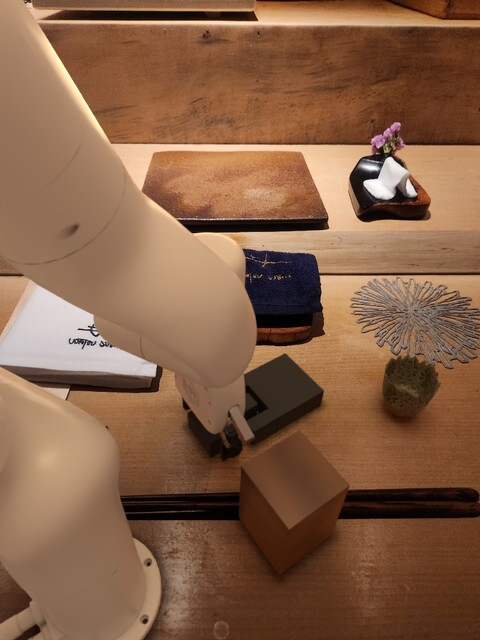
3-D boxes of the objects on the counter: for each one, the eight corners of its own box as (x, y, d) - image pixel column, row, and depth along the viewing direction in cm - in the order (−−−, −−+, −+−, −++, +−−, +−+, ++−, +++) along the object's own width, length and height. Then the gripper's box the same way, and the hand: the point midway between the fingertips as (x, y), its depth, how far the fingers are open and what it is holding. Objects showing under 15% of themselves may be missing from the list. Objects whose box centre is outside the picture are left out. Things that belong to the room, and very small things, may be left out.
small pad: (210, 458, 62) (210, 444, 59) (188, 427, 65) (187, 412, 63) (264, 427, 66) (265, 412, 63) (240, 399, 69) (241, 384, 67)
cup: (426, 434, 65) (444, 400, 60) (373, 425, 66) (386, 390, 61) (421, 394, 71) (438, 358, 65) (373, 386, 72) (385, 350, 66)
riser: (278, 575, 51) (288, 529, 43) (238, 517, 56) (240, 465, 48) (331, 534, 55) (350, 485, 47) (289, 482, 60) (299, 429, 51)
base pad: (252, 446, 63) (253, 431, 61) (217, 402, 69) (217, 387, 66) (320, 405, 69) (324, 390, 66) (283, 367, 74) (285, 352, 72)
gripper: (144, 309, 55) (158, 398, 67) (223, 406, 45) (223, 492, 56) (198, 288, 58) (202, 377, 70) (283, 374, 48) (271, 462, 59)
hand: (211, 428), depth 63 cm, fingers open, 9 cm apart
